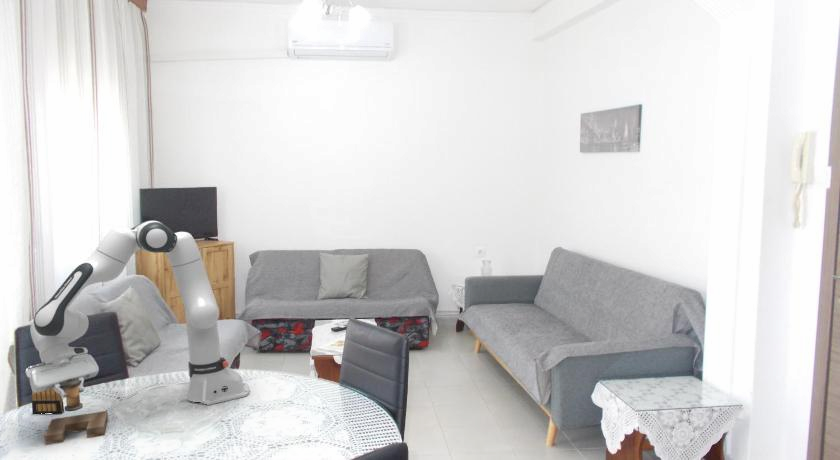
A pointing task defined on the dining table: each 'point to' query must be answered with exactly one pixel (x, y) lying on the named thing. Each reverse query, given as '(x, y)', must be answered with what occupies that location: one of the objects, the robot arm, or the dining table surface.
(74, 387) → the bobbin
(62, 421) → the notched board
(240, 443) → the dining table surface
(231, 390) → the robot arm
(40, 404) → the ammunition clip
